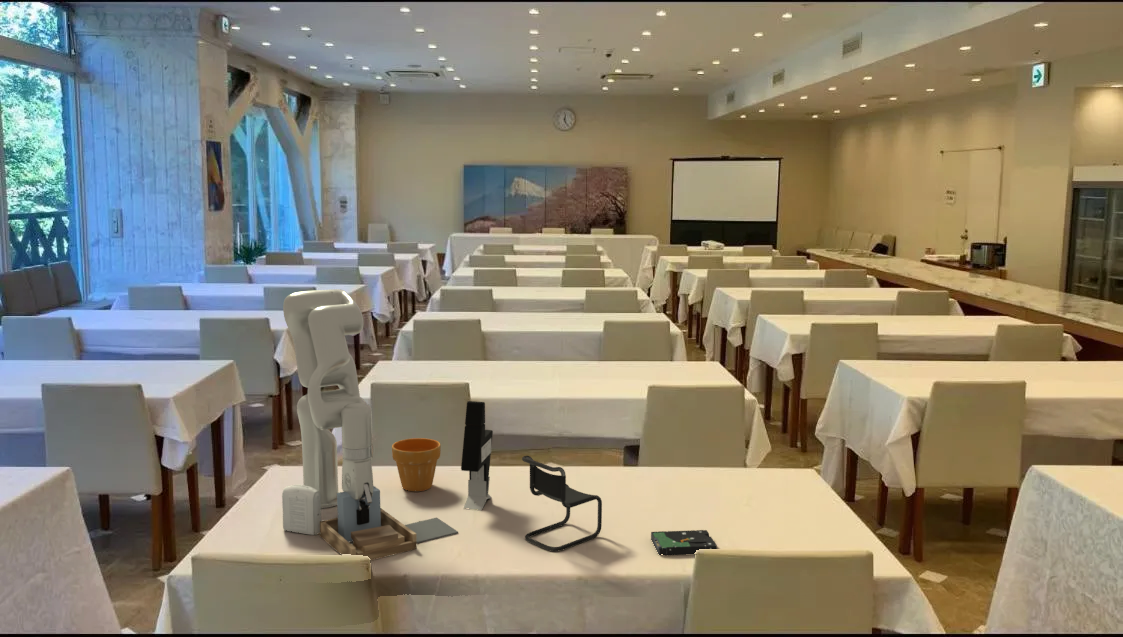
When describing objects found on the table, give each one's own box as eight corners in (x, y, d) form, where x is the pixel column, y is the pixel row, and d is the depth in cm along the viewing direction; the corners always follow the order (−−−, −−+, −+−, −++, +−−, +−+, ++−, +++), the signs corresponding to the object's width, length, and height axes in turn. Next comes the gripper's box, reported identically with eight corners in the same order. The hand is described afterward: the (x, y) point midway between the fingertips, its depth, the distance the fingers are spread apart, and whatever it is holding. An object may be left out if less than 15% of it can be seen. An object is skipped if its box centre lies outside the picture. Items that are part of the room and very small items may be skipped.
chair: (519, 538, 239) (519, 456, 236) (567, 521, 251) (568, 443, 248) (553, 554, 230) (554, 469, 227) (602, 536, 242) (603, 454, 238)
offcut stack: (347, 549, 231) (347, 532, 231) (393, 539, 238) (392, 522, 238) (359, 560, 225) (359, 542, 225) (406, 548, 232) (405, 531, 232)
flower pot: (394, 479, 283) (393, 438, 281) (441, 478, 285) (440, 437, 283) (391, 495, 269) (390, 452, 267) (440, 494, 271) (440, 451, 269)
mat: (396, 528, 245) (396, 526, 245) (436, 518, 252) (436, 517, 252) (416, 543, 236) (416, 542, 236) (458, 533, 243) (458, 531, 242)
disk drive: (706, 539, 242) (649, 541, 240) (706, 529, 241) (650, 530, 239) (717, 556, 232) (658, 557, 230) (717, 545, 231) (659, 547, 229)
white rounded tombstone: (324, 530, 244) (322, 485, 242) (315, 536, 240) (313, 490, 238) (290, 525, 247) (288, 480, 245) (280, 531, 243) (278, 486, 241)
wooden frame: (320, 536, 240) (319, 521, 239) (381, 522, 249) (381, 508, 249) (352, 565, 223) (351, 549, 222) (416, 548, 232) (416, 533, 232)
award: (478, 513, 256) (478, 408, 251) (460, 512, 257) (459, 406, 252) (493, 495, 271) (493, 394, 266) (476, 493, 272) (475, 393, 267)
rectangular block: (338, 537, 239) (336, 493, 237) (374, 529, 245) (373, 485, 243) (344, 543, 236) (343, 497, 234) (381, 534, 241) (379, 490, 239)
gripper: (331, 446, 241) (333, 513, 244) (356, 463, 228) (358, 534, 231) (358, 441, 245) (360, 508, 248) (385, 458, 232) (386, 528, 235)
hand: (359, 520), depth 239 cm, fingers closed on rectangular block, 4 cm apart
